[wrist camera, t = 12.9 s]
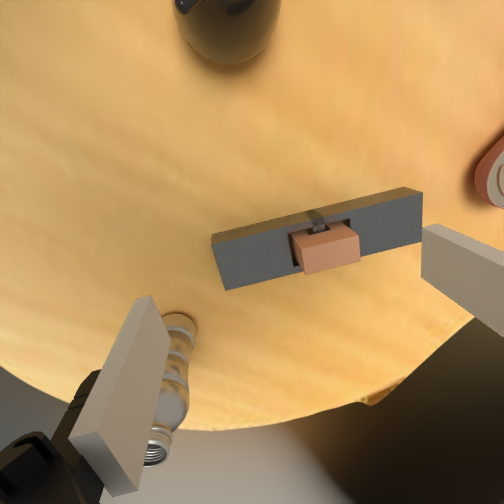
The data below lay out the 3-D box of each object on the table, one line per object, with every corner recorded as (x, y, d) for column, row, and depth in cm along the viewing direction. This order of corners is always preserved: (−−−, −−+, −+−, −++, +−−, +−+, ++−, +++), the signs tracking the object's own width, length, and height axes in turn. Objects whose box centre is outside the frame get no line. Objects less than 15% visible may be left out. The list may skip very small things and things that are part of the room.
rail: (224, 277, 43) (225, 290, 40) (212, 234, 40) (211, 244, 37) (404, 232, 44) (421, 241, 40) (404, 186, 41) (422, 192, 37)
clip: (290, 249, 43) (305, 274, 35) (286, 228, 41) (301, 249, 34) (336, 238, 43) (360, 261, 35) (333, 216, 41) (358, 235, 34)
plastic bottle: (146, 320, 45) (96, 452, 26) (183, 300, 44) (158, 422, 26) (169, 347, 47) (139, 485, 29) (205, 329, 47) (197, 458, 28)
